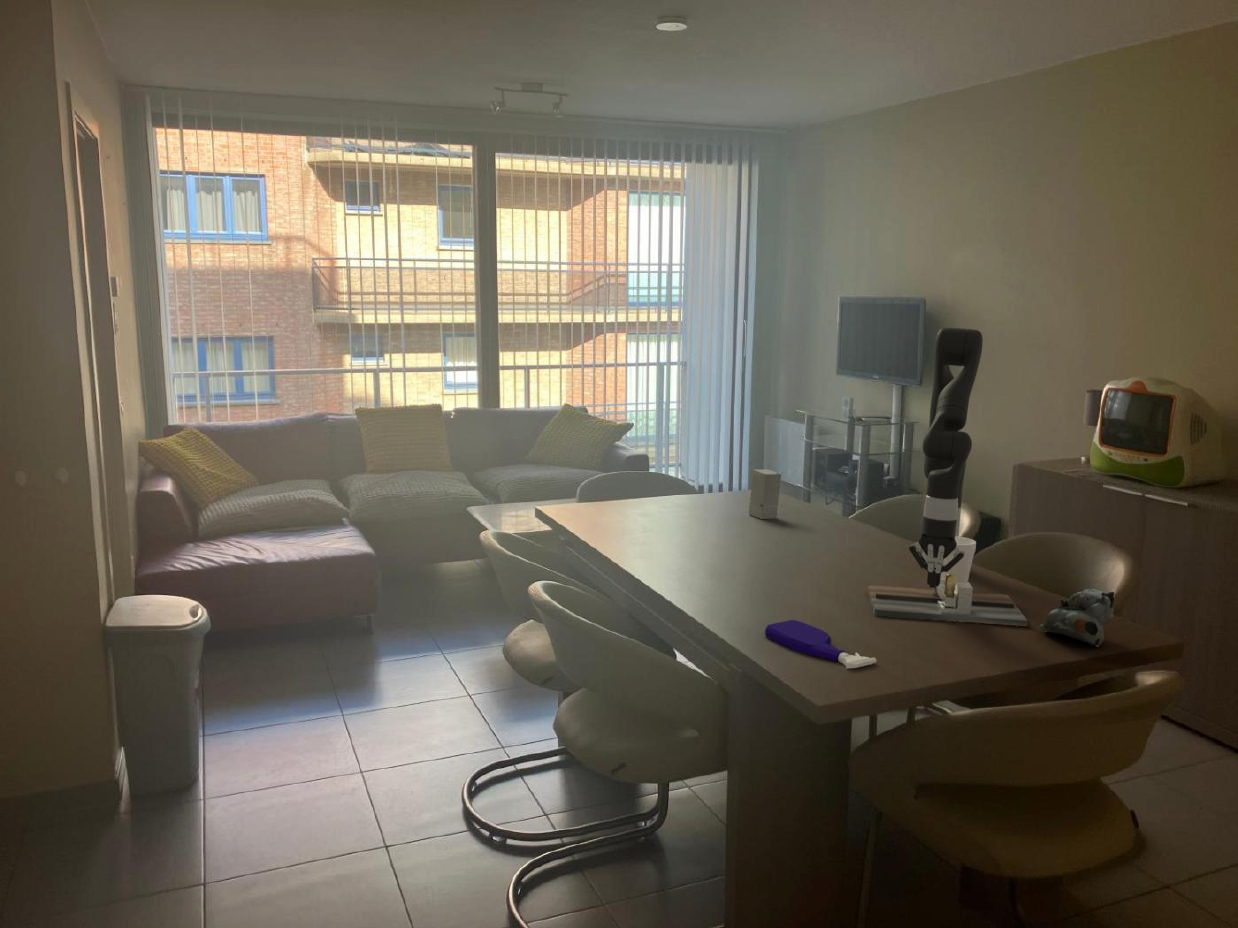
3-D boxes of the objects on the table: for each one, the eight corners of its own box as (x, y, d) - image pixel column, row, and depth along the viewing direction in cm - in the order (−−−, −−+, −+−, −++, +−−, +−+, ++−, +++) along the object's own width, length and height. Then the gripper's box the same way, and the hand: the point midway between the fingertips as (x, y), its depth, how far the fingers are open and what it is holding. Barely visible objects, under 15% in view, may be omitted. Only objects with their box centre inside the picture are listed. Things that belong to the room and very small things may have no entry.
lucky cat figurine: (1032, 627, 227) (1058, 573, 228) (1082, 652, 225) (1109, 598, 226) (1052, 629, 212) (1080, 571, 213) (1106, 656, 210) (1134, 597, 211)
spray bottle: (760, 625, 215) (844, 662, 195) (797, 617, 221) (882, 652, 201) (759, 638, 216) (843, 676, 196) (796, 630, 222) (881, 666, 202)
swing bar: (931, 587, 247) (934, 559, 246) (946, 588, 247) (949, 560, 245) (942, 605, 232) (944, 576, 231) (958, 606, 231) (960, 577, 230)
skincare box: (748, 514, 341) (750, 469, 338) (765, 513, 344) (768, 468, 341) (761, 520, 333) (764, 473, 331) (779, 518, 336) (782, 472, 334)
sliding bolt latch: (867, 590, 253) (868, 580, 253) (1007, 600, 248) (1008, 590, 247) (874, 615, 233) (875, 604, 232) (1027, 627, 227) (1028, 615, 227)
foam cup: (946, 595, 251) (951, 545, 249) (926, 585, 260) (930, 536, 258) (979, 593, 253) (983, 543, 251) (958, 583, 262) (962, 535, 260)
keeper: (937, 605, 237) (939, 579, 236) (965, 607, 236) (968, 581, 235) (940, 613, 231) (943, 586, 230) (970, 615, 230) (972, 588, 229)
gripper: (908, 514, 231) (901, 586, 234) (968, 522, 225) (960, 595, 228) (913, 508, 237) (907, 578, 240) (972, 516, 232) (964, 587, 235)
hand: (933, 586), depth 234 cm, fingers closed
